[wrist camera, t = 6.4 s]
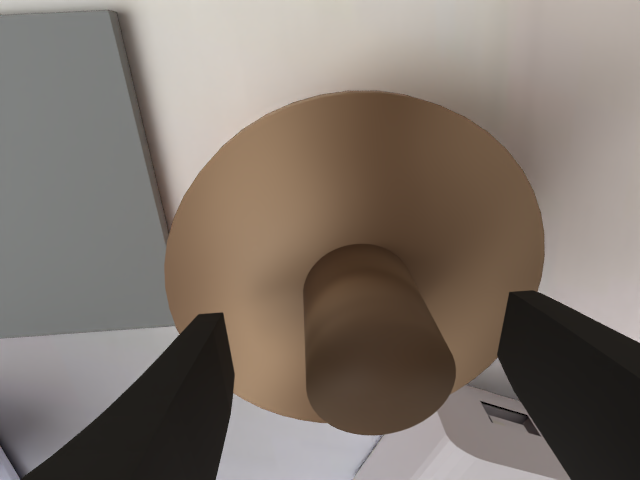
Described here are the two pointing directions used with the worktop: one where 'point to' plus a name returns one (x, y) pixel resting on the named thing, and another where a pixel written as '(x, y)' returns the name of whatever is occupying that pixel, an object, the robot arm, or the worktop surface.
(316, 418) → the lid
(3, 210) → the mat
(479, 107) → the worktop surface
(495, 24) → the worktop surface
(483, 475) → the charger
